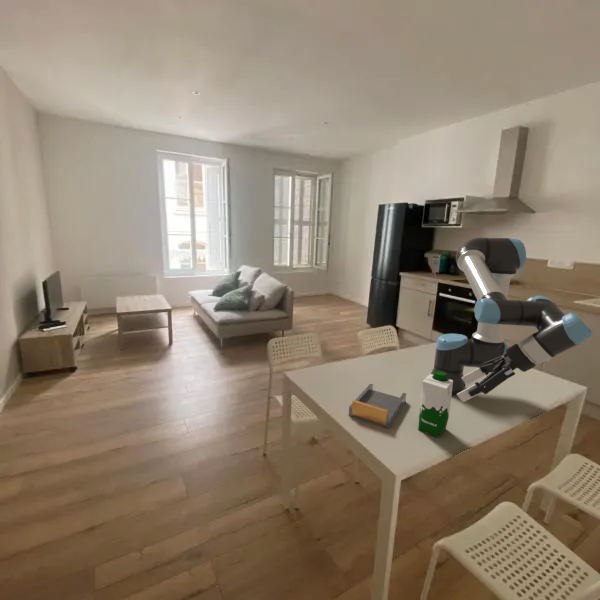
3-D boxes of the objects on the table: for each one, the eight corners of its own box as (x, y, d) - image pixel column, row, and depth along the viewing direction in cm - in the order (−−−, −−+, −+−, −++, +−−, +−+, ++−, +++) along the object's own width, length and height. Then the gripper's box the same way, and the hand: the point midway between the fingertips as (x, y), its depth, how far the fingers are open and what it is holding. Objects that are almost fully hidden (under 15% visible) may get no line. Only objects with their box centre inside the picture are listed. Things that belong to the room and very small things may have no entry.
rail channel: (369, 391, 135) (370, 378, 134) (405, 401, 128) (406, 387, 127) (348, 415, 117) (349, 400, 116) (389, 428, 109) (390, 413, 108)
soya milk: (449, 428, 111) (456, 374, 107) (441, 440, 104) (448, 383, 100) (423, 418, 116) (429, 367, 112) (414, 429, 109) (420, 375, 105)
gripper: (542, 381, 80) (467, 417, 90) (533, 351, 101) (473, 384, 111) (519, 356, 81) (448, 395, 92) (515, 332, 102) (458, 366, 113)
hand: (462, 389), depth 102 cm, fingers open, 13 cm apart
